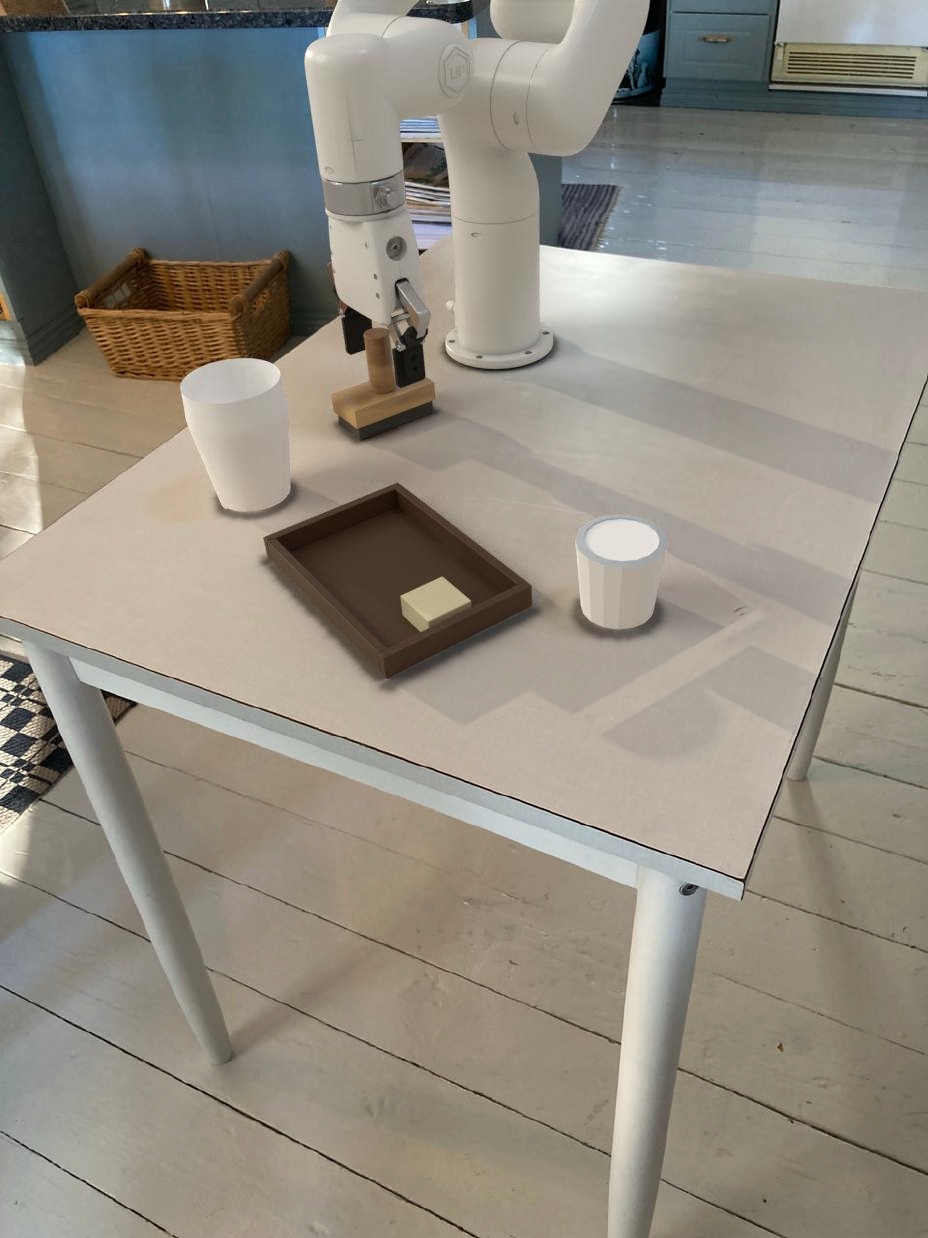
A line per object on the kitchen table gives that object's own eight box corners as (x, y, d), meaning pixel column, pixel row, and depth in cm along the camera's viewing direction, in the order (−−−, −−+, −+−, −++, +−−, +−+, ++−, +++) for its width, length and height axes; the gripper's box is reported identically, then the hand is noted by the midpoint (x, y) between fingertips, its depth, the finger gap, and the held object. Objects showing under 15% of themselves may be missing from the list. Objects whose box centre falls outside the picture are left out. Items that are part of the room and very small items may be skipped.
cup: (305, 516, 91) (283, 397, 84) (206, 529, 90) (174, 410, 83) (301, 466, 98) (281, 351, 90) (209, 478, 97) (180, 363, 90)
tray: (268, 561, 86) (262, 537, 84) (400, 505, 92) (397, 481, 90) (387, 684, 73) (383, 658, 72) (532, 611, 79) (531, 585, 77)
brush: (335, 424, 104) (322, 338, 98) (412, 396, 108) (404, 312, 102) (358, 442, 101) (346, 354, 95) (436, 412, 105) (430, 326, 99)
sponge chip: (402, 615, 78) (399, 595, 77) (444, 595, 80) (442, 575, 79) (430, 641, 76) (428, 621, 75) (472, 620, 78) (471, 600, 76)
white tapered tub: (676, 627, 76) (684, 554, 72) (593, 648, 75) (596, 574, 71) (639, 576, 82) (644, 505, 77) (560, 595, 80) (561, 523, 76)
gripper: (452, 204, 86) (463, 384, 97) (352, 162, 98) (372, 328, 109) (378, 225, 83) (399, 409, 94) (284, 180, 94) (312, 349, 105)
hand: (385, 365), depth 101 cm, fingers open, 9 cm apart
